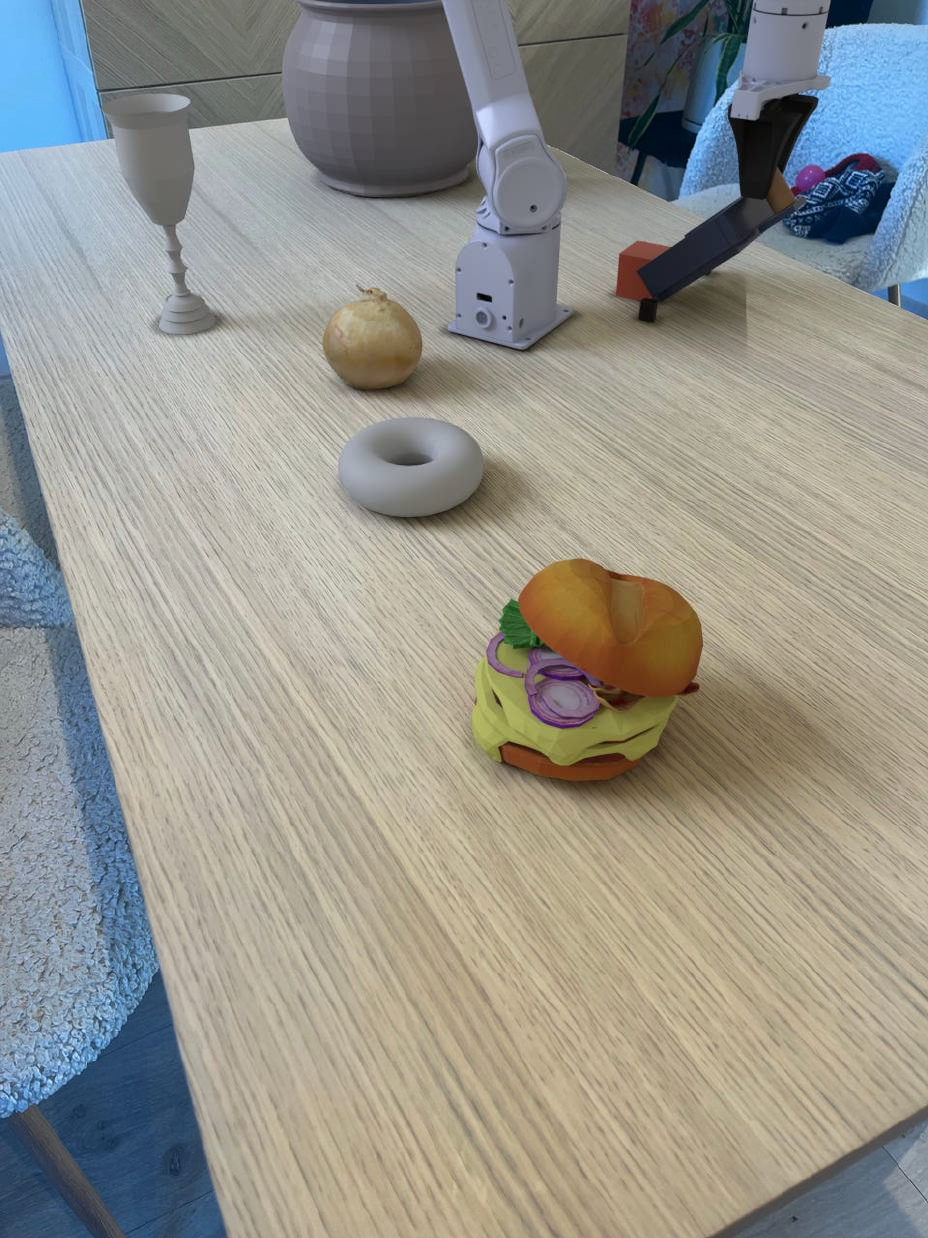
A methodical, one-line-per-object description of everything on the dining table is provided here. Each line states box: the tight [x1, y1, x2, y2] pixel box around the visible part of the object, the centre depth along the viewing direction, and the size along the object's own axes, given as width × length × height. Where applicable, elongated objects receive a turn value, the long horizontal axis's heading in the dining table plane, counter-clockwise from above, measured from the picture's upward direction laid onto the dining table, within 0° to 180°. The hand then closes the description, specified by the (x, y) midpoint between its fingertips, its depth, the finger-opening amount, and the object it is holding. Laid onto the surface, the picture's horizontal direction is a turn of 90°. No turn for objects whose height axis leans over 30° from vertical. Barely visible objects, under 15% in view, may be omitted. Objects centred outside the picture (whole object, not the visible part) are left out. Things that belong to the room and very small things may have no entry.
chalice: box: [100, 93, 217, 335], centre depth 86 cm, size 7×7×18 cm
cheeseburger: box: [470, 557, 704, 782], centre depth 50 cm, size 10×11×10 cm
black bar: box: [637, 271, 712, 323], centre depth 95 cm, size 14×1×2 cm, turn 148°
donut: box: [337, 416, 486, 518], centre depth 69 cm, size 10×4×10 cm
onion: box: [321, 283, 424, 391], centre depth 80 cm, size 8×8×7 cm
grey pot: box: [281, 0, 478, 198], centre depth 119 cm, size 25×25×20 cm
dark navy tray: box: [637, 166, 807, 305], centre depth 90 cm, size 12×14×5 cm
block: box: [615, 240, 671, 302], centre depth 95 cm, size 4×4×4 cm
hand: (758, 192), depth 86 cm, fingers closed on dark navy tray, 2 cm apart
